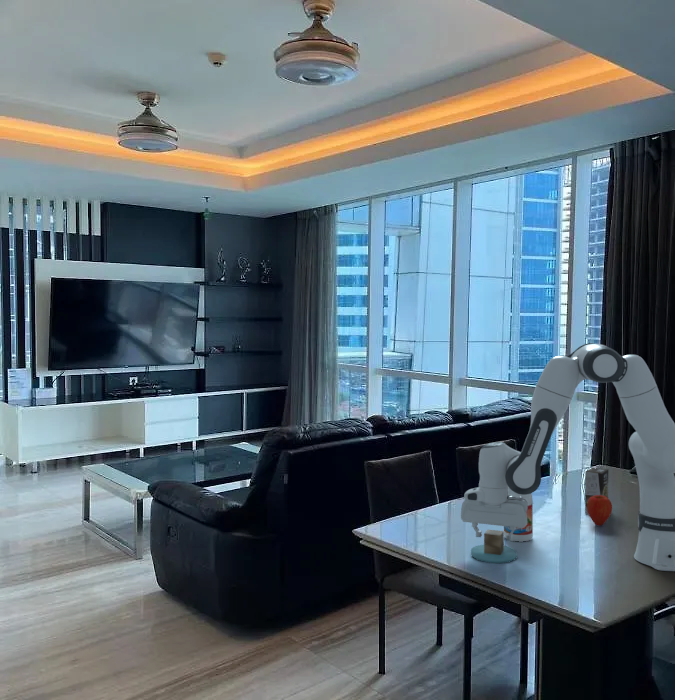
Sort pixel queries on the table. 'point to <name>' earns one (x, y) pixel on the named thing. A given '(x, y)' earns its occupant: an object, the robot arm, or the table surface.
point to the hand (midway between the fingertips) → (493, 538)
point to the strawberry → (599, 509)
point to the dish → (494, 555)
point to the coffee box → (595, 484)
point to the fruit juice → (527, 531)
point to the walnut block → (494, 542)
